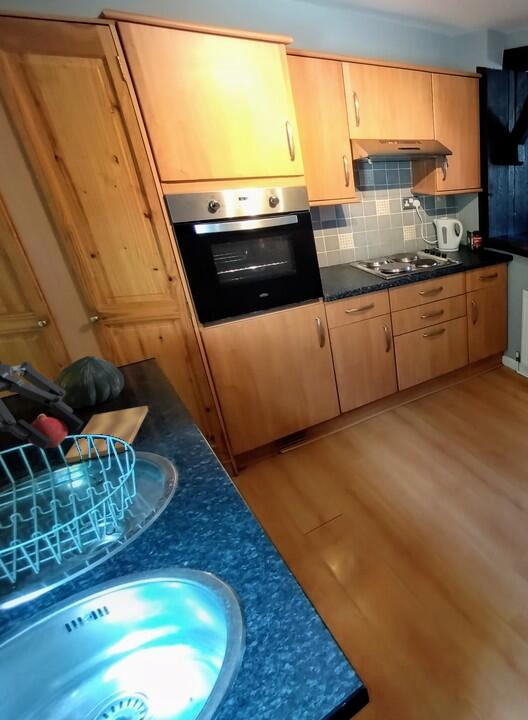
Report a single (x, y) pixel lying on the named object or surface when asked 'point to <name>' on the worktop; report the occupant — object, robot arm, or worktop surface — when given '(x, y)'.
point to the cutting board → (109, 431)
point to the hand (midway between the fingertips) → (63, 435)
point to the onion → (50, 429)
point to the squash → (89, 382)
